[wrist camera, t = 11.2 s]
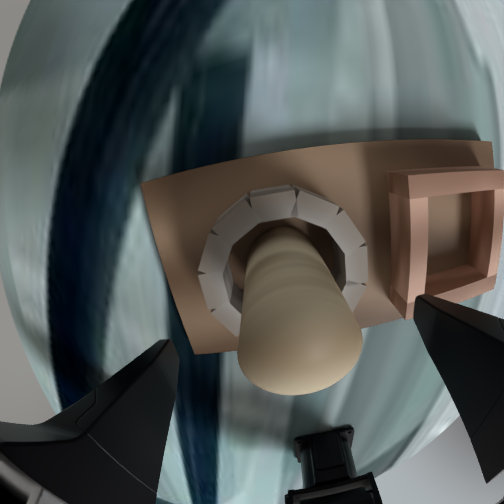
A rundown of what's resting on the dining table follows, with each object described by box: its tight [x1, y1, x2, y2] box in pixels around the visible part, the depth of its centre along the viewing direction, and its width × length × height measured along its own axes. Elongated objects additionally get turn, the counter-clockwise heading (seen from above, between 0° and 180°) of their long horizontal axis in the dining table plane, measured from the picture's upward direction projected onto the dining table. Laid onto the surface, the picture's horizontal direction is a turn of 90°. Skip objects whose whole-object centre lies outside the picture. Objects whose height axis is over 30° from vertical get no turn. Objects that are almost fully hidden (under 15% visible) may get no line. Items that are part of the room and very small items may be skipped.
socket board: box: [141, 139, 504, 354], centre depth 14 cm, size 12×24×4 cm, turn 101°
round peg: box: [237, 226, 363, 395], centre depth 12 cm, size 4×4×8 cm
